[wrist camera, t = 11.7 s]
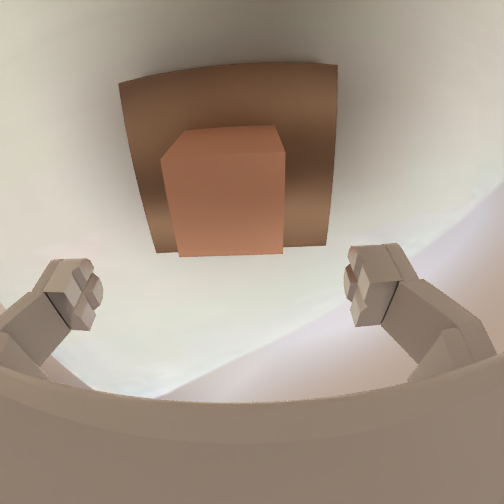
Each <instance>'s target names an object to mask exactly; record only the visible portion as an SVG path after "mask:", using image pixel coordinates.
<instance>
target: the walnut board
mask: <svg viewBox="0 0 504 504" xmlns="http://www.w3.org/2000/svg"><path fill="white" fill-rule="evenodd" d="M337 75H338V65H330V64H316V63H246V64H230V65H219V66H209V67H201V68H193V69H186V70H180V71H174V72H168V73H162V74H157V75H152V76H147V77H143V78H138V79H134V80H130V81H126V82H122V83H118V84H119V91H120V98H121V104H122V110H123V116H124V121H125V127H126V132H127V137H128V142H129V147H130V152H131V157H132V161H133V166H134V170H135V174H136V179H137V183H138V187H139V191H140V195H141V199H142V203H143V207H144V211H145V214H146V218H147V222H148V225H149V229H150V232H151V236H152V239H153V243H154V246H155V250H156V253H169V252H178V248H177V244H176V239H175V235H174V230H173V225H172V220H171V216H170V211H169V206H168V201H167V195H166V190H165V185H164V179H163V173H162V168H161V162H160V159H161V158H162V157H163V156H164V154H165V153H166V152H167V151H168V149H169V148H170V147H171V146H172V145H173V143H174V142H175V141H176V140H177V139H178V138H179V136H180V135H181V134H182V133H183V132H184V131H185V130H195V129H206V128H219V127H237V126H268V125H275V127H276V130H277V132H278V135H279V137H280V140H281V142H282V145H283V147H284V150H285V200H284V234H283V247H302V246H325V245H326V240H327V232H328V223H329V214H330V204H331V194H332V182H333V170H334V156H335V139H336V118H337Z"/></svg>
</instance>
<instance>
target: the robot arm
mask: <svg viewBox="0 0 504 504" xmlns="http://www.w3.org/2000/svg"><path fill="white" fill-rule="evenodd" d="M348 259H349V262H350V264H349V265H348V266H347V267H346V268H345V273H344V289H345V294H346V297H347V299H348V300H350V301H351V302H352V305H351V309H350V311H351V314H352V317H353V321H354V324H355V327H360V326H370V325H381V324H382V325H381V326H382V327H383V328H384V329H385V330H386V331H387V332H388V333H389V335H390V336H392V337H393V339H394V340H395V341H396V342H397V343H398V344H399V345H400V346H401V347H402V348H403V349H404V350H405V351H406V352H407V353H408V354H409V355H410V356H411V357H412V358H413V359H414V360H415V362H416V363H417V364H418V366H417V367H416V368H415V370H414V371H413V372H412V373H411V375H410V376H409V378H408V383H404V384H400V385H395V386H391V387H386V388H381V389H376V390H370V391H365V392H358V393H352V394H346V395H339V396H331V397H323V398H314V399H303V400H292V401H276V402H252V403H210V402H188V401H187V402H186V401H173V400H172V401H171V400H161V399H151V398H142V397H134V396H126V395H119V394H113V393H107V392H101V391H95V390H90V389H85V388H80V387H75V386H71V385H66V384H62V383H58V382H54V381H50V380H47V379H48V376H47V374H46V373H45V372H44V371H43V370H42V369H41V368H40V366H41V365H42V364H43V363H44V361H45V360H46V359H47V358H48V356H49V355H50V354H51V353H52V352H53V351H54V350H55V348H56V347H57V346H58V345H59V344H60V343H61V342H62V340H63V339H64V338H65V337H66V336H67V335H68V334H69V332H70V331H71V330H83V331H90V329H91V326H92V324H93V321H94V319H95V316H96V314H95V311H94V310H95V309H96V308H97V307H98V306H99V305H100V304H101V301H102V299H103V287H102V283H101V281H100V279H99V277H97V276H96V275H95V274H94V273H93V270H94V267H93V265H92V263H91V261H90V260H88V259H54V260H52V261H50V263H49V264H48V266H47V268H46V269H45V271H44V272H43V274H42V275H41V277H40V279H39V280H38V282H37V283H36V285H35V287H34V288H33V290H32V292H28V293H27V294H25V295H24V296H23V297H22V298H20V299H19V300H18V301H17V302H16V303H14V304H13V305H12V306H11V307H10V308H8V309H7V310H6V311H5V312H4V313H3V314H1V315H0V504H504V352H502V353H500V354H497V353H496V351H495V349H494V347H493V344H492V342H491V340H490V338H489V336H488V334H487V332H486V330H485V328H484V326H483V324H482V322H481V320H480V319H478V318H477V317H476V316H474V315H473V314H472V313H470V312H469V311H468V310H466V309H465V308H464V307H462V306H461V305H460V304H458V303H457V302H455V301H454V300H453V299H451V298H450V297H448V296H447V295H446V294H444V293H443V292H441V291H440V290H439V289H437V288H436V287H434V286H433V285H431V284H430V283H429V282H427V281H425V280H424V279H419V278H418V276H417V274H416V272H415V271H414V269H413V267H412V265H411V264H410V262H409V260H408V258H407V257H406V255H405V253H404V252H403V250H402V248H401V247H400V245H399V244H397V243H390V244H382V245H363V246H351V247H350V249H349V253H348Z"/></svg>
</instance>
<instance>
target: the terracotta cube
mask: <svg viewBox="0 0 504 504" xmlns="http://www.w3.org/2000/svg"><path fill="white" fill-rule="evenodd" d="M160 162H161V168H162V173H163V179H164V185H165V190H166V195H167V201H168V206H169V211H170V216H171V220H172V225H173V230H174V235H175V239H176V244H177V248H178V253H179V257H198V256H230V255H262V254H283V234H284V200H285V150H284V147H283V145H282V142H281V140H280V137H279V135H278V132H277V130H276V127H275V125H268V126H237V127H219V128H206V129H195V130H185V131H184V132H183V133H182V134H181V135H180V136H179V138H178V139H177V140H176V141H175V142H174V143H173V145H172V146H171V147H170V148H169V149H168V151H167V152H166V153H165V154H164V156H163V157H162V158H161V159H160Z"/></svg>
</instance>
